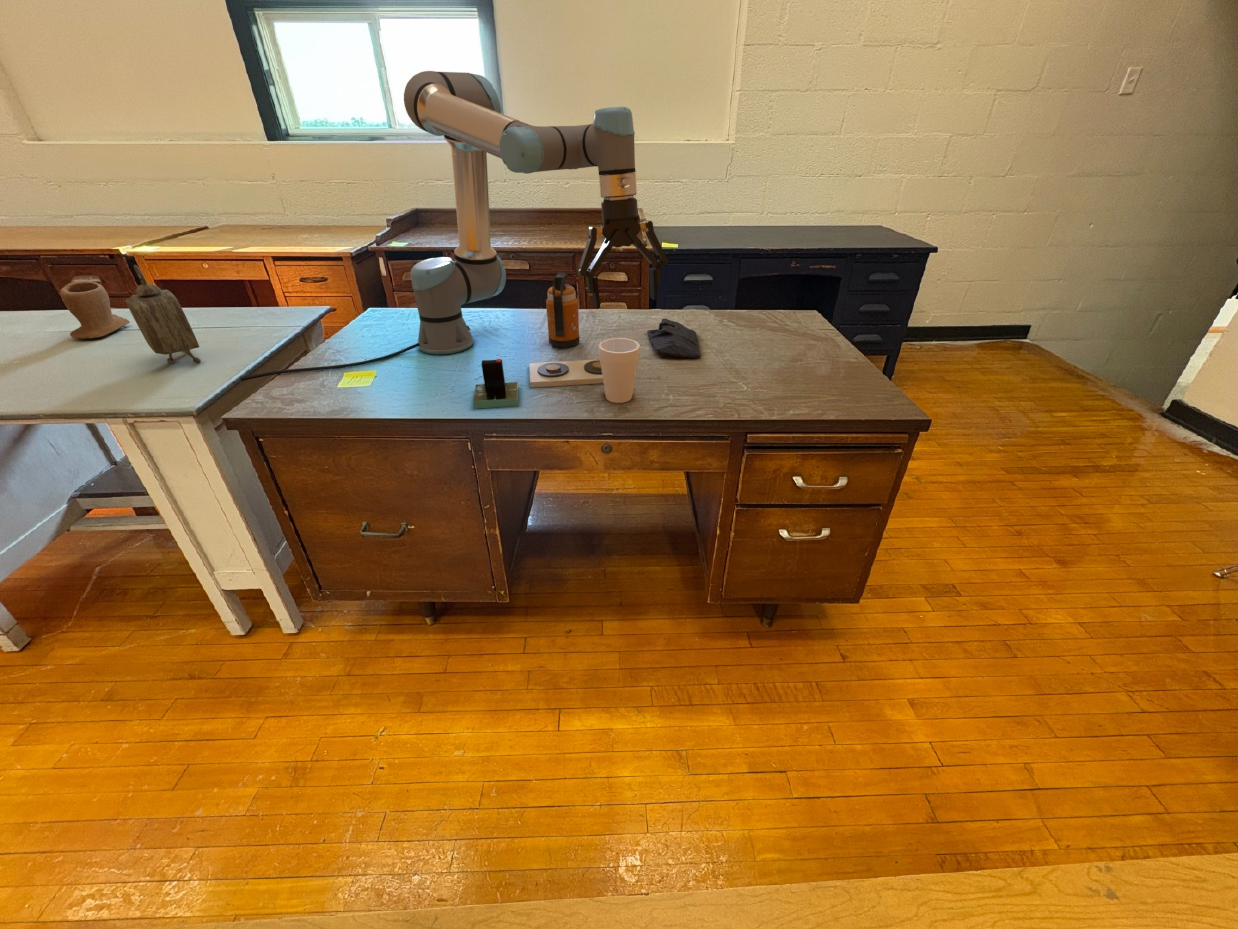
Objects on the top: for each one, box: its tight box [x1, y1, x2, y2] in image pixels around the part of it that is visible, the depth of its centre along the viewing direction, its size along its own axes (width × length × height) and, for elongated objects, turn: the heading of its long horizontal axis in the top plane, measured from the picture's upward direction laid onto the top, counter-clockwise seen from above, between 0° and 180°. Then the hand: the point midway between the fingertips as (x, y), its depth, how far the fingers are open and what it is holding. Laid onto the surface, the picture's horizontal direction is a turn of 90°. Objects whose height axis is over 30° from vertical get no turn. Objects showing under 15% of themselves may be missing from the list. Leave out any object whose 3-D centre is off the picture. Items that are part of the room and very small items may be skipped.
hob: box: [529, 358, 604, 388], centre depth 135 cm, size 24×12×3 cm, turn 99°
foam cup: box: [597, 337, 641, 404], centre depth 122 cm, size 10×9×13 cm
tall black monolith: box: [481, 358, 506, 393], centre depth 121 cm, size 5×2×8 cm, turn 99°
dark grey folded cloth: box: [646, 318, 702, 359], centre depth 152 cm, size 15×22×5 cm
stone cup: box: [59, 280, 131, 339], centre depth 155 cm, size 15×12×15 cm
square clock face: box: [472, 381, 519, 410], centre depth 124 cm, size 10×9×2 cm
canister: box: [545, 272, 580, 348], centre depth 148 cm, size 9×11×20 cm
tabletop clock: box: [125, 264, 202, 364], centre depth 135 cm, size 14×9×25 cm, turn 47°
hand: (625, 303), depth 118 cm, fingers open, 13 cm apart
